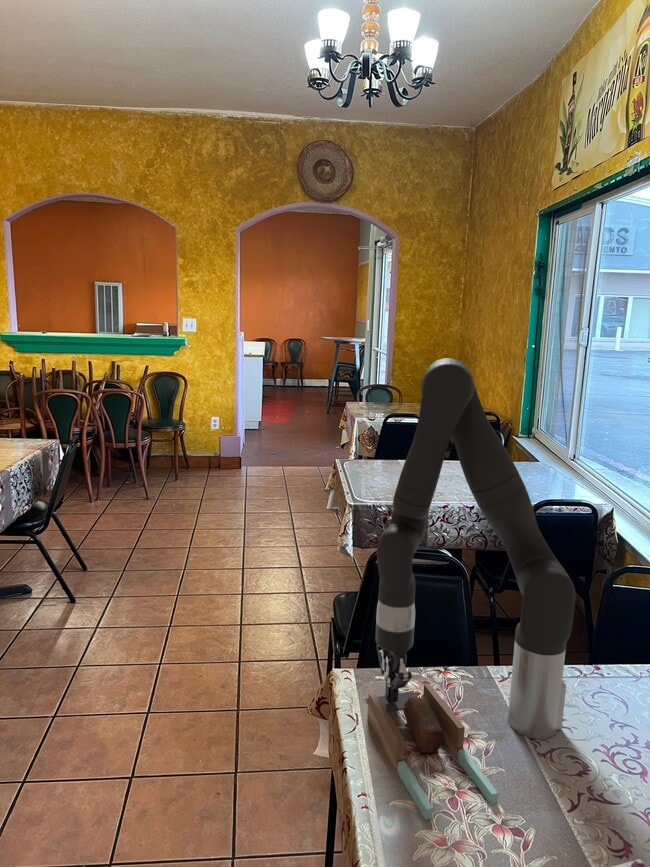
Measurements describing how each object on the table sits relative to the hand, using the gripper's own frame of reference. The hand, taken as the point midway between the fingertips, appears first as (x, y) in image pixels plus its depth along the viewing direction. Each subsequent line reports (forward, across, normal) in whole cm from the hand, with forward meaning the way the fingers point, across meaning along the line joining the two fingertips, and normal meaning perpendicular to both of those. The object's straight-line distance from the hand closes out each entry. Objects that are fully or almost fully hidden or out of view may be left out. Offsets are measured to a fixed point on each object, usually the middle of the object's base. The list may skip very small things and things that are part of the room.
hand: (391, 700), depth 129 cm
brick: (+2, -8, 0) cm, 9 cm away
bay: (+1, -24, 0) cm, 24 cm away
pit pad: (+1, 0, 0) cm, 1 cm away
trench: (+1, -11, 0) cm, 11 cm away
